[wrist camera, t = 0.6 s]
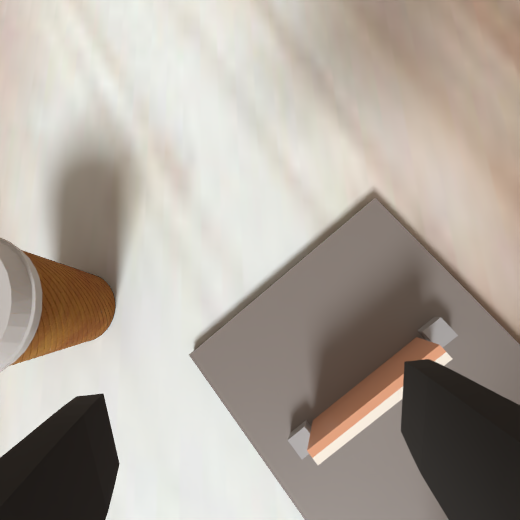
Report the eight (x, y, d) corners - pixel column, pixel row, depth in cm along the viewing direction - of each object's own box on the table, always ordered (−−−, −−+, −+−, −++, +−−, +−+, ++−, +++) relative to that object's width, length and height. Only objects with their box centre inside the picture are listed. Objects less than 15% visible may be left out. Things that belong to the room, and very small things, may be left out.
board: (598, 430, 24) (629, 444, 22) (369, 601, 25) (373, 633, 23) (373, 201, 29) (377, 190, 27) (193, 353, 31) (180, 357, 28)
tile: (426, 347, 26) (452, 358, 20) (321, 431, 27) (317, 465, 21) (416, 337, 26) (439, 344, 20) (312, 420, 27) (306, 450, 21)
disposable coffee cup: (122, 246, 34) (9, 212, 22) (139, 346, 32) (26, 367, 20) (37, 272, 35) (-111, 253, 23) (49, 369, 33) (-105, 401, 22)
